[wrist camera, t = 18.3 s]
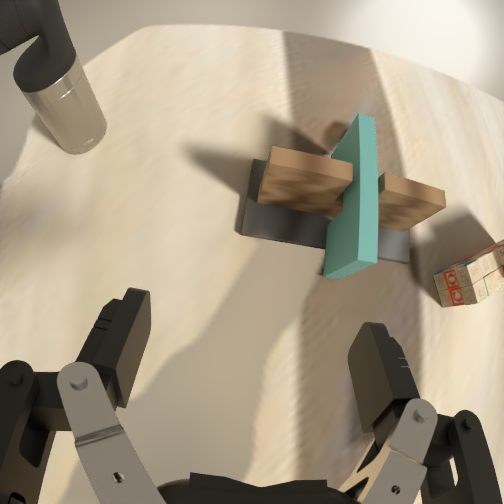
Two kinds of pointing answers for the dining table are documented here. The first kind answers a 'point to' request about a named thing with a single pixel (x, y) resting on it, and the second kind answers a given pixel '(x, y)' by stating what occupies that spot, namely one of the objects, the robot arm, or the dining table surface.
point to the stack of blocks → (472, 277)
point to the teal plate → (355, 204)
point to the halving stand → (329, 202)
